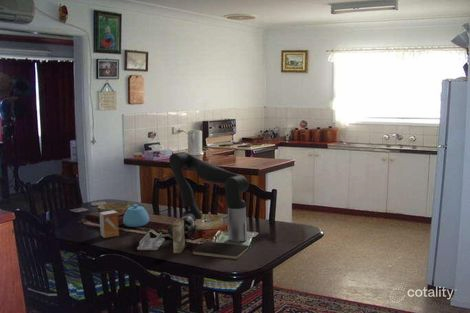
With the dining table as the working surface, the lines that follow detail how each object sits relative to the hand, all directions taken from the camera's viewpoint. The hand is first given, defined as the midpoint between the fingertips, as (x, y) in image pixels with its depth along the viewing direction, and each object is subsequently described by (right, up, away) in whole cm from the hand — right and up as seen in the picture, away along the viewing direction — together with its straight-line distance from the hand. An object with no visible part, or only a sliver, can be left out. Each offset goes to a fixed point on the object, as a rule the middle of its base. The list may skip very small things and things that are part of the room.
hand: (179, 233), depth 261 cm
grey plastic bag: (-15, -7, +8) cm, 18 cm away
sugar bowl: (-30, -2, +47) cm, 56 cm away
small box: (-40, -5, +25) cm, 48 cm away
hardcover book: (+21, -9, -5) cm, 23 cm away
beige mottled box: (0, -8, -1) cm, 8 cm away
